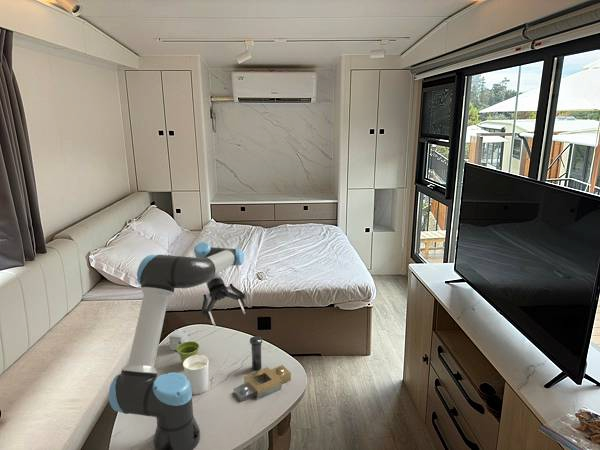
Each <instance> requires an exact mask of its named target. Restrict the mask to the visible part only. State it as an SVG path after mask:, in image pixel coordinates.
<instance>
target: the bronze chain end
mask: <svg viewBox="0 0 600 450" xmlns="http://www.w3.org/2000/svg"><path fill="white" fill-rule="evenodd" d="M263 377H266V378H267V379H268V380H269V381H267V382H266V381H265V382H263V383H261V384H260V383H258V382H257V381H256V380H258V379H260V378H263ZM291 377H292V373H291V371H290V370H289V369H288V368H286V366H284V365H283V364H281V365H278V366H277V367H276V366H275V367H274V368H271V369H270V368H269V367H267V366H266V367H264V368H261V370H259V371H254V372H251V373H250V374H246V375H244V376H243V378H244V380H243V382H244V381H245V382H246V383H247V384H248V385H249V386H250V387H251V388H252V389H253V391H254V392H255V393H256V394H257V395H259V394H261V393H263V392H266V391H268V390H270V389H273V388H275V387H277V386H279V385H282V384H285V383H288V382H290V381H291V379H292V378H291Z"/></svg>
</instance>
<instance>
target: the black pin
mask: <svg viewBox="0 0 600 450" xmlns="http://www.w3.org/2000/svg"><path fill="white" fill-rule="evenodd" d="M249 343H250V345H251V366H252V368H251V369H252V370H253V371H254V372H256V371H259V370H261V369H263V368H262V367H263V366H262V344H263V338H262V337H261V336H260V335H259V336H258V335H257V336H256V335H255V336H252V337H250V339H249Z"/></svg>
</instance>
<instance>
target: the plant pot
mask: <svg viewBox="0 0 600 450" xmlns="http://www.w3.org/2000/svg"><path fill="white" fill-rule="evenodd" d="M199 349H200V344H199V343H198V342H196V341H193V340H191V341H189V340H188V342H184V343H182V344H180V345H179V346H178V347H177V350H176V351H177V353H178V354H179V356H180V360H181V365H182V366H183V362H184V361H185V360H186V359H187V358H189V357H191V356H194V355H199V354H198V353H199Z"/></svg>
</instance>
